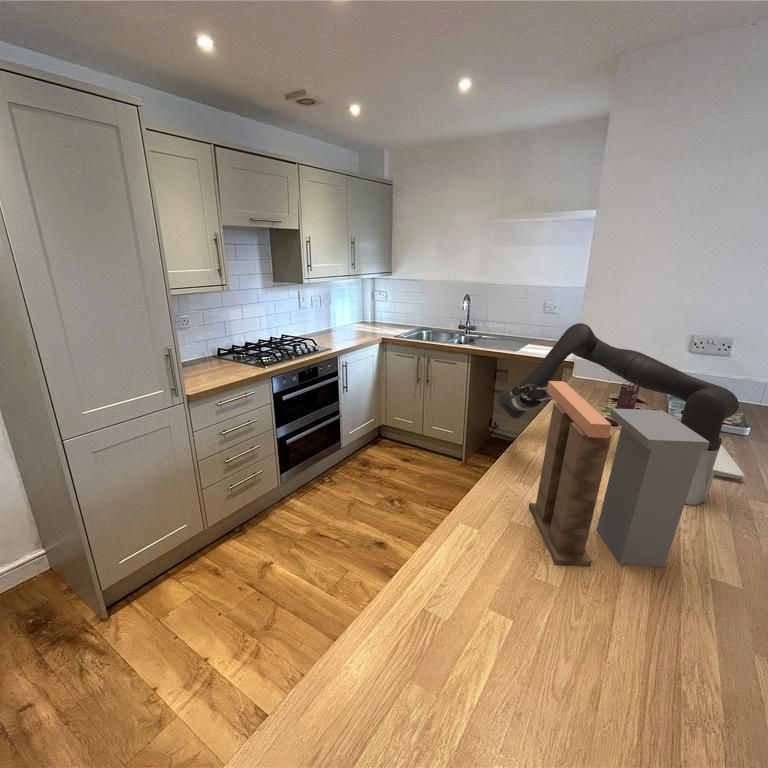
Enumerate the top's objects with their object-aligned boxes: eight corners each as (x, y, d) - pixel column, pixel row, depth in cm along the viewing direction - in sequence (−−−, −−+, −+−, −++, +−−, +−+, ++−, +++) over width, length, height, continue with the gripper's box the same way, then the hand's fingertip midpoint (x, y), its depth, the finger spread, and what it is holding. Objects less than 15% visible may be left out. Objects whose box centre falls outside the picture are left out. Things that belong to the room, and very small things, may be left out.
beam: (546, 391, 108) (548, 380, 107) (562, 392, 108) (564, 381, 107) (588, 437, 84) (591, 423, 83) (608, 437, 84) (611, 424, 83)
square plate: (642, 466, 136) (645, 456, 135) (630, 432, 160) (632, 423, 159) (743, 485, 127) (747, 474, 126) (714, 446, 151) (717, 437, 150)
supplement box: (625, 423, 167) (634, 386, 162) (612, 419, 171) (620, 383, 165) (632, 417, 173) (641, 382, 167) (620, 414, 176) (628, 379, 171)
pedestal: (632, 521, 109) (662, 410, 98) (668, 567, 94) (709, 442, 83) (586, 519, 109) (611, 408, 98) (615, 564, 94) (649, 439, 83)
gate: (557, 508, 113) (579, 401, 102) (590, 566, 94) (621, 440, 83) (528, 507, 114) (546, 400, 103) (554, 564, 94) (580, 439, 83)
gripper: (503, 385, 132) (518, 375, 116) (548, 386, 132) (570, 377, 116) (504, 408, 131) (519, 401, 115) (549, 410, 131) (571, 403, 115)
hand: (544, 389), depth 115 cm, fingers open, 8 cm apart
